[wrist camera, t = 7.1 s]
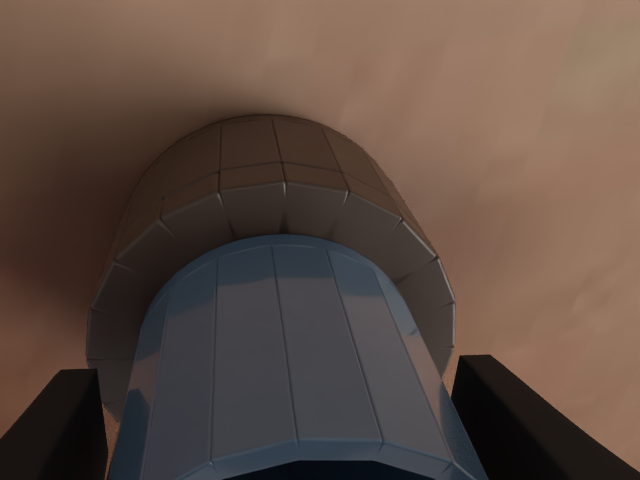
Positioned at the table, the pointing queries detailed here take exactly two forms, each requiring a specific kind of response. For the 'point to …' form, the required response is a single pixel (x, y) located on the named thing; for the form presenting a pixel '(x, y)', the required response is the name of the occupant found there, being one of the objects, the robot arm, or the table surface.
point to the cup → (286, 374)
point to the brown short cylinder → (258, 228)
